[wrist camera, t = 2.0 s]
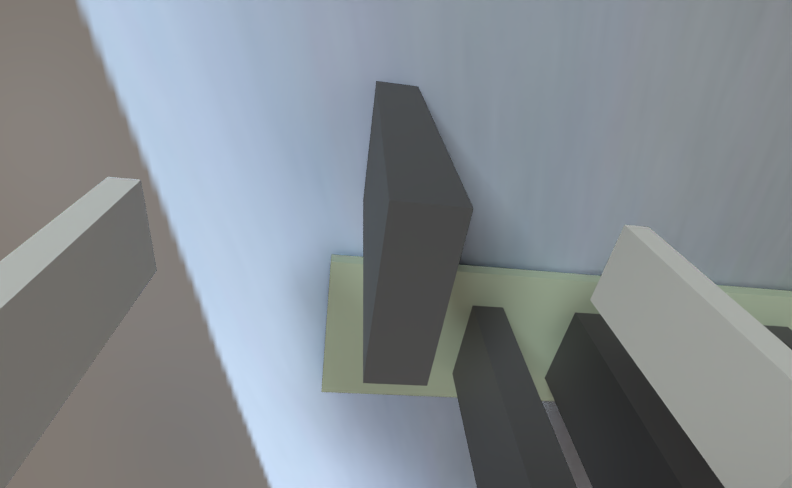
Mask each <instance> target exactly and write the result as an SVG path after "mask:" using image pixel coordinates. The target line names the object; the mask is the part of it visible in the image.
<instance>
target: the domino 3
mask: <svg viewBox="0 0 792 488" xmlns="http://www.w3.org/2000/svg"><path fill="white" fill-rule="evenodd" d="M545 380H546V382H547V384H548V387H549V389H550V391H551V393H552V396H553V398H554V400H555V403H556V405H557V407H558V409H559V412H560V414H561V416H562V418H563V421H564V423H565V425H566V427H567V430H568V432H569V434H570V437H571V439H572V441H573V443H574V446H575V448H576V450H577V452H578V455H579V457H580V459H581V462H582V464H583V466H584V468H585V471H586V473H587V475H588V477H589V480H590V482H591V484H592V486H593V488H724V487H723V486H722V484H721V483H720V482H719V480H718V479H717V477H716V476H715V474H714V473H713V471H712V470H711V469H710V467H709V466H708V464H707V463H706V461H705V460H704V458H703V457H702V456H701V454H700V453H699V451H698V450H697V448H696V447H695V445H694V444H693V443H692V441H691V440H690V438H689V437H688V436H687V434H686V433H685V431H684V430H683V429H682V427H681V426H680V424H679V423H678V422H677V420H676V419H675V417H674V416H673V415H672V413H671V412H670V411H669V409H668V408H667V406H666V405H665V404H664V402H663V401H662V399H661V398H660V397H659V395H658V394H657V392H656V391H655V390H654V388H653V387H652V385H651V384H650V383H649V381H648V380H647V378H646V377H645V376H644V374H643V373H642V372H641V370H640V369H639V367H638V366H637V365H636V363H635V362H634V360H633V359H632V358H631V356H630V355H629V353H628V352H627V351H626V349H625V348H624V346H623V345H622V344H621V342H620V341H619V339H618V338H617V337H616V335H615V334H614V332H613V331H612V330H611V328H610V327H609V326H608V324H607V323H606V321H605V320H604V319H603V317H602V316H601V314H591V313H577V312H575V314H574V316H573V318H572V320H571V322H570V324H569V327H568V329H567V331H566V333H565V335H564V337H563V339H562V342H561V344H560V346H559V348H558V350H557V352H556V355H555V357H554V359H553V361H552V363H551V365H550V367H549V370H548V372H547V374H546V376H545Z"/></svg>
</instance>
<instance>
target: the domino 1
mask: <svg viewBox="0 0 792 488" xmlns="http://www.w3.org/2000/svg"><path fill="white" fill-rule="evenodd" d="M472 212H473V206H472V204H471V202H470V200H469V198H468V195H467V193H466V191H465V189H464V187H463V184H462V182H461V180H460V178H459V176H458V173H457V171H456V169H455V167H454V165H453V162H452V160H451V158H450V156H449V154H448V152H447V149H446V147H445V145H444V143H443V141H442V138H441V136H440V134H439V132H438V130H437V127H436V125H435V123H434V121H433V119H432V116H431V114H430V112H429V110H428V108H427V105H426V103H425V101H424V99H423V97H422V94H421V92H420V90H419V88H418V87H417V86H410V85H402V84H394V83H387V82H379V81H376V89H375V98H374V107H373V116H372V125H371V134H370V144H369V153H368V162H367V171H366V180H365V189H364V198H363V383H372V384H395V385H419V386H427V384H428V381H429V377H430V373H431V369H432V365H433V361H434V358H435V354H436V350H437V346H438V342H439V338H440V335H441V331H442V327H443V323H444V319H445V315H446V312H447V308H448V304H449V300H450V296H451V292H452V288H453V285H454V281H455V277H456V273H457V269H458V265H459V262H460V258H461V254H462V250H463V246H464V242H465V239H466V235H467V231H468V227H469V223H470V219H471V216H472Z"/></svg>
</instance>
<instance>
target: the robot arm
mask: <svg viewBox="0 0 792 488" xmlns="http://www.w3.org/2000/svg"><path fill="white" fill-rule="evenodd" d="M156 271H157V269H156V263H155V258H154V252H153V247H152V241H151V235H150V230H149V224H148V217H147V213H146V206H145V200H144V195H143V189H142V183H141V180H137V179H126V178H116V177H107V178H106V179H105V180H103V181H102V182H101V183H99V184H98V185H97V186H96V187H94V188H93V189H92V190H90V191H89V192H88V193H87V194H85V195H84V196H83V197H82V198H80V199H79V200H78V201H77V202H75V203H74V204H73V205H71V206H70V207H69V208H68V209H66V210H65V211H64V212H62V213H61V214H60V215H59V216H57V217H56V218H55V219H54V220H52V221H51V222H50V223H48V224H47V225H46V226H45V227H43V228H42V229H41V230H39V231H38V232H37V233H36V234H34V235H33V236H32V237H31V238H29V239H28V240H27V241H25V242H24V243H23V244H22V245H20V246H19V247H18V248H17V249H15V250H14V251H13V252H11V253H10V254H9V255H8V256H6V257H5V258H4V259H2V261H0V488H5V487H6V486H7V485H8V483H9V481H10V480H11V479H12V477H13V476H14V474H15V473H16V471H17V470H18V469H19V467H20V466H21V464H22V463H23V462H24V460H25V459H26V457H27V456H28V454H29V453H30V451H31V450H32V449H33V447H34V446H35V444H36V443H37V441H38V440H39V439H40V437H41V436H42V434H43V433H44V431H45V430H46V429H47V427H48V426H49V424H50V423H51V421H52V420H53V419H54V417H55V416H56V414H57V413H58V411H59V410H60V408H61V407H62V406H63V404H64V403H65V401H66V400H67V398H68V397H69V396H70V394H71V392H72V391H73V390H74V388H75V387H76V386H77V384H78V383H79V381H80V380H81V378H82V377H83V376H84V374H85V373H86V371H87V370H88V368H89V367H90V365H91V364H92V363H93V361H94V360H95V358H96V357H97V355H98V354H99V353H100V351H101V350H102V348H103V347H104V345H105V344H106V343H107V341H108V340H109V338H110V337H111V335H112V334H113V333H114V331H115V330H116V328H117V327H118V325H119V324H120V322H121V321H122V320H123V318H124V317H125V315H126V314H127V312H128V311H129V310H130V308H131V307H132V305H133V304H134V302H135V301H136V300H137V298H138V297H139V295H140V294H141V292H142V291H143V289H144V288H145V287H146V285H147V284H148V282H149V281H150V279H151V278H152V277H153V275H154V274H155V272H156ZM590 300H591V302H592V303H593V305H594V306H595V307H596V309H597V310H598V312H599V313H600V314H601V316H602V317H603V319H604V320H605V321H606V323H607V324H608V326H609V327H610V328H611V330H612V331H613V332H614V334H615V335H616V337H617V338H618V339H619V341H620V342H621V344H622V345H623V346H624V348H625V349H626V351H627V352H628V353H629V355H630V356H631V358H632V359H633V360H634V362H635V363H636V365H637V366H638V367H639V369H640V370H641V372H642V373H643V374H644V376H645V377H646V378H647V380H648V381H649V383H650V384H651V385H652V387H653V388H654V390H655V391H656V392H657V394H658V395H659V397H660V398H661V399H662V401H663V402H664V404H665V405H666V406H667V408H668V409H669V411H670V412H671V413H672V415H673V416H674V417H675V419H676V420H677V422H678V423H679V424H680V426H681V427H682V429H683V430H684V431H685V433H686V434H687V436H688V437H689V438H690V440H691V441H692V443H693V444H694V445H695V447H696V448H697V450H698V451H699V452H700V454H701V455H702V456H703V458H704V459H705V461H706V462H707V463H708V465H709V466H710V468H711V469H712V470H713V472H714V473H715V475H716V476H717V477H718V479H719V480H720V482H721V483H722V484H723V486H724V487H725V488H792V348H791V347H789V346H788V345H787V344H786V343H785V342H783V341H782V340H780V339H779V338H777V337H776V336H775V335H774V334H773V333H772V332H770V331H769V330H768V329H767V328H766V327H765V326H763V325H762V324H761V323H760V322H759V321H758V320H756V319H755V318H754V317H753V316H752V315H751V314H749V313H748V312H747V311H746V310H745V309H744V308H742V307H741V306H740V305H739V304H738V303H737V302H735V301H734V300H733V299H732V298H731V297H730V296H729V295H727V294H726V293H725V292H724V291H723V290H722V289H720V288H719V287H718V286H717V285H716V284H715V283H713V282H712V281H711V280H710V279H709V278H708V277H706V276H705V275H704V274H703V273H702V272H701V271H699V270H698V269H697V268H696V267H695V266H694V265H692V264H691V263H690V262H689V261H688V260H687V259H685V258H684V257H683V256H682V255H681V254H680V253H678V252H677V251H676V250H675V249H674V248H673V247H671V246H670V245H669V244H668V243H667V242H666V241H664V240H663V239H662V238H661V237H660V236H659V235H657V234H656V233H655V232H654V231H653V230H652V229H650V228H649V227H643V226H632V225H624V227H623V229H622V232H621V234H620V236H619V238H618V240H617V242H616V245H615V247H614V249H613V251H612V253H611V255H610V258H609V260H608V262H607V264H606V266H605V268H604V271H603V273H602V275H601V277H600V279H599V281H598V284H597V286H596V288H595V290H594V292H593V295H592V297H591V299H590Z"/></svg>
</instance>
